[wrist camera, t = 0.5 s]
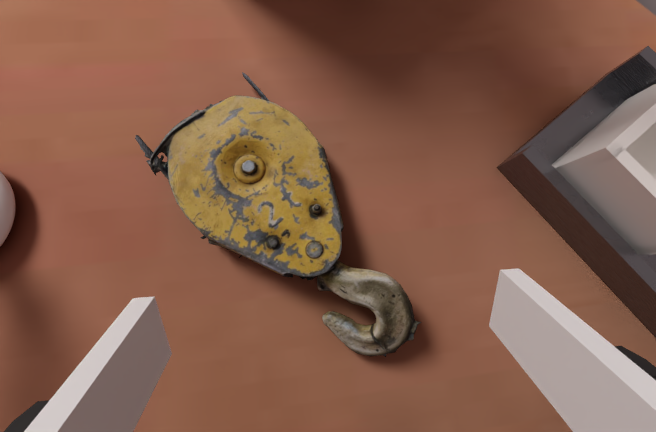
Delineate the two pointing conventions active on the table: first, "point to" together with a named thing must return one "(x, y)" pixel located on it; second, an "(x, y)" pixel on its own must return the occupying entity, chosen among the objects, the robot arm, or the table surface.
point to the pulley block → (277, 208)
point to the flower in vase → (6, 208)
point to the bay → (570, 207)
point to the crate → (620, 170)
